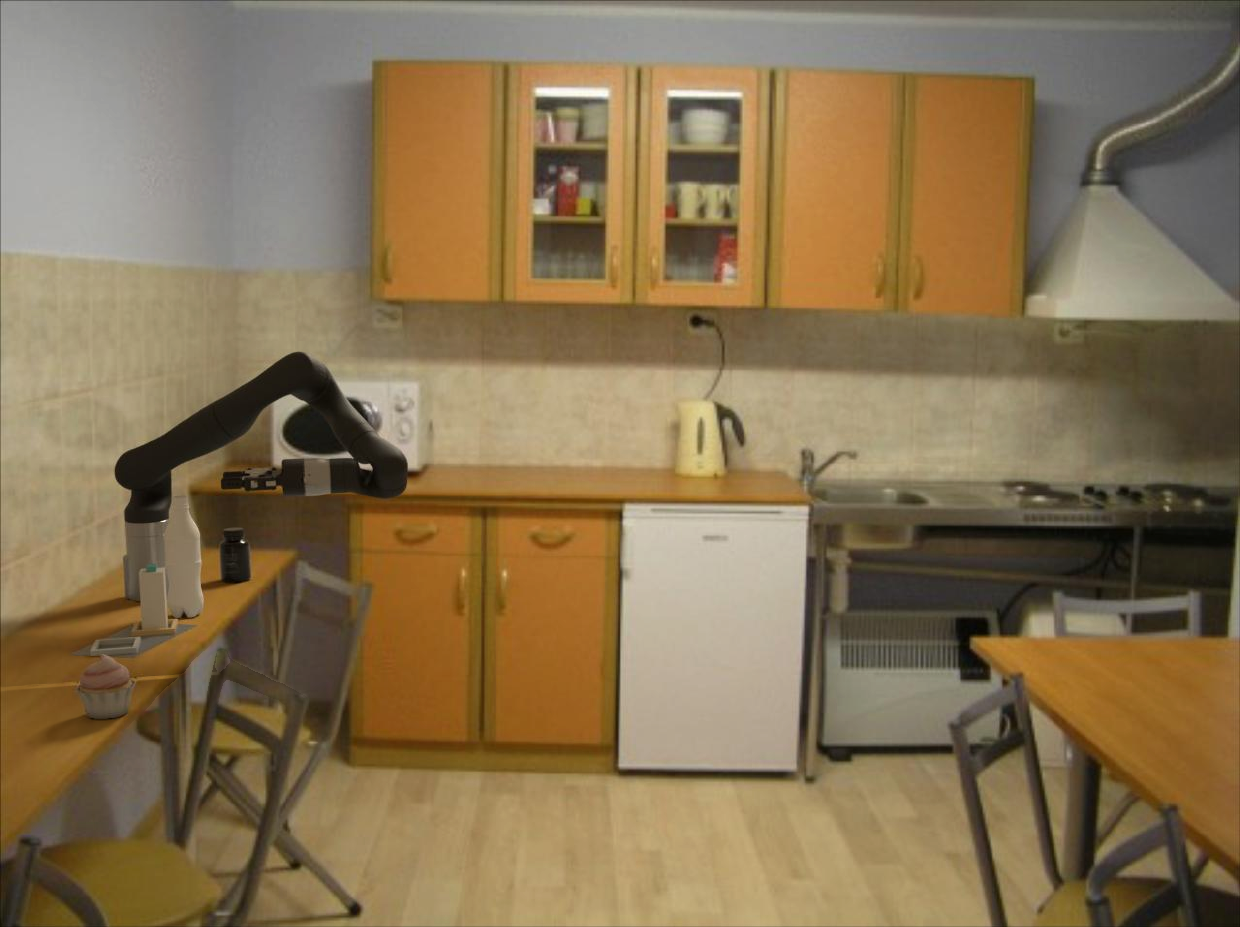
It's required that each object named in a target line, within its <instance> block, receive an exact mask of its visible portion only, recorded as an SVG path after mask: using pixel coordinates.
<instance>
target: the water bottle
mask: <svg viewBox="0 0 1240 927" xmlns="http://www.w3.org/2000/svg"><path fill="white" fill-rule="evenodd" d="M171 502H172V503H171V509H172V514H171V518H169V523H168V525H167V528H166V530H165V533H164V540H165V557H166V562H165V567H166V570H167V574H168V581H169V590H168V597H167V609H168V610H169V612H170V614H171V616H172V617H174V619H181V618H182V616H183V614H184V613H185V616H186V618H188V619H189V618H190V619H191V618H195V617H197V615H198V616H199V615H200V614H201V613H202V612H203V608H204V605H205V604H204V594H203V591H202V586H201V569H202V565H203V564H202V557H201V555H202V554H201V553H202V552H201V539H200V538H201V532H200V531H199V530H200V529H199V528H198V525H197V524H196V523H195V521H194V519H193V517H192V516H191V513H190V511H189V509H190V505H189V499H188V495H173V496H172V501H171Z"/></svg>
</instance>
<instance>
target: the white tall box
mask: <svg viewBox="0 0 1240 927" xmlns="http://www.w3.org/2000/svg"><path fill="white" fill-rule="evenodd" d="M139 584H140V601H139V602H140V614H141V618H140V619H141V621H142V630H148V629H163V628H168V619H169V618H168V604H167V597H166V579H165V567H164V568H157V564H147V567H146V569H141V570H140V572H139Z"/></svg>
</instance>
